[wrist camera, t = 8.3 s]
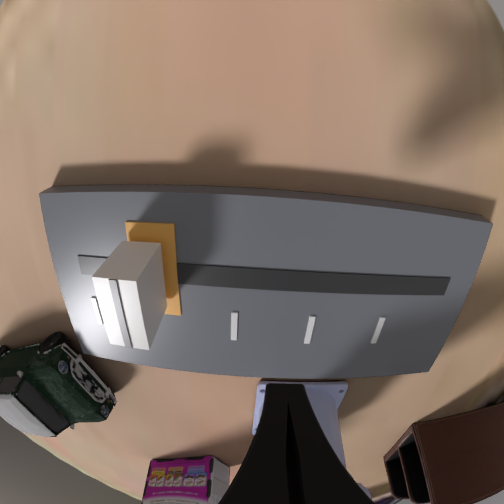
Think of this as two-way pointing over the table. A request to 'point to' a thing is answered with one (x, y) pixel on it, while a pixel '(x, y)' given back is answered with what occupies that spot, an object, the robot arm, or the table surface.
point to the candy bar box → (186, 481)
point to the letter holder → (450, 458)
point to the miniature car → (50, 388)
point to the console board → (272, 277)
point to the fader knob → (132, 293)
